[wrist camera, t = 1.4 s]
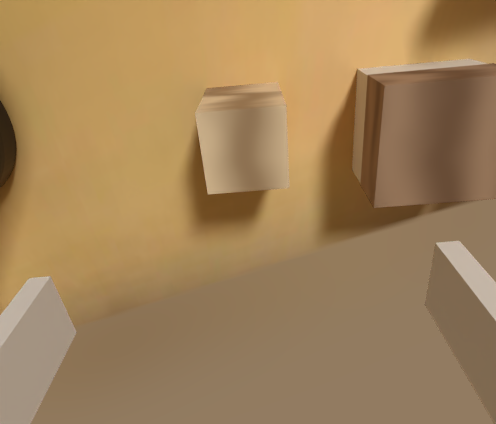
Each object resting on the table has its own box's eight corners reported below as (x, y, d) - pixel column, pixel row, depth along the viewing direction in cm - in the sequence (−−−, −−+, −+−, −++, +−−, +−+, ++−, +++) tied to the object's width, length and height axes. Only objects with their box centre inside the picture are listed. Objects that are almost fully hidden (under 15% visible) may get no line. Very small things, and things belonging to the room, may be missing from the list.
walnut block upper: (360, 185, 32) (373, 208, 29) (367, 74, 28) (384, 85, 24) (468, 176, 32) (495, 198, 28) (493, 63, 27) (528, 72, 24)
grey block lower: (351, 168, 36) (362, 186, 32) (356, 68, 31) (369, 76, 28) (448, 160, 35) (469, 178, 32) (467, 58, 31) (494, 65, 27)
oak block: (216, 155, 35) (207, 194, 28) (206, 88, 32) (194, 113, 25) (281, 149, 34) (289, 188, 27) (278, 81, 31) (286, 105, 24)
